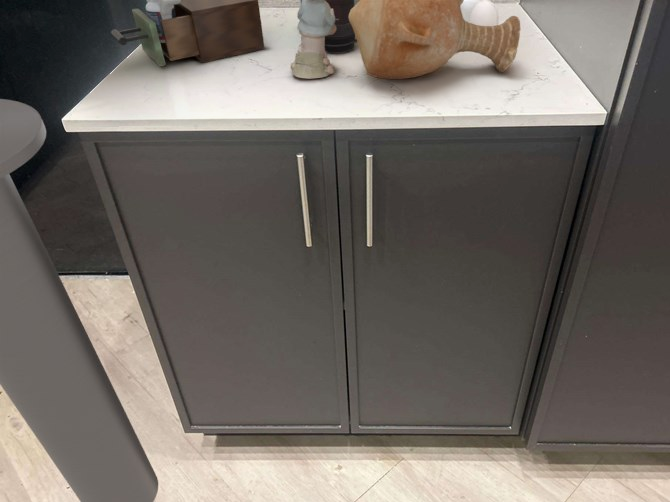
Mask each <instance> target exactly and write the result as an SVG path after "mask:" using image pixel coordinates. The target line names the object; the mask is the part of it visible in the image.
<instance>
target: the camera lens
mask: <svg viewBox="0 0 670 502" xmlns="http://www.w3.org/2000/svg"><path fill="white" fill-rule="evenodd" d="M325 1H326V2H327V3H328V4H329V6H330V8H332V9H333V10H334V16H335V23H334V24H335V26H336V31H335V33H334V34H332V35H327V36H325V44H324V47H325V51H326V53H328V54H329V53H330V54H342V53H348V52H350V51H352V50H353V49H354V42H355V41H354V40H355V33H354V30H353V27H352V25H351V23H350V21H349V18H348V16H349V13H350V10H351V9H352V8H353V7H354V0H325ZM353 41H354V42H353Z"/></svg>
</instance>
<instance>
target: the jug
mask: <svg viewBox="0 0 670 502" xmlns="http://www.w3.org/2000/svg"><path fill="white" fill-rule="evenodd" d="M463 1H464V0H360V1H359V2H358V3H357V4H356V5H355V6H354V7H353V8H352V9H351V10H350V13H349V16H348V18H349V21H350V23H351V25H352V27H353V30H354V33H355V35H356V38H357V41H356V42H357V45H358V48H359V52H360V56H361V61H362V63H363V67H364V69H365V71H366V72H367V74H368V75H370V76H372V77H375V78H378V79H386V80H405V79H410V78H416V77H417V78H418V77H421V76H424V75H427V74H431V73H432V72H434V71H437V70H438V69H440V68H441V67H443V66H444V65H445V64H447V63H448V62H449V61H450V59H452V57H454V56H455V55H457V54H459V53H464V52H465V53H467V52H471V53H475V54H478V55H481V56H484V57H485V58H488V59H489V60H491V62H492V63H493V64H494V67H495V68H496V70H497V71H498V72H500V73H502V72H505V71H506V70H507V69H508V68H509V67H510V66H511V65H512V63H513V61H515V59H516V57H517V54H518V53H517V52H518V48H519V42H520V38H521V37H520V36H521V30H522V29H521V20H520V19H519V18H520V17H518V16H517V15H510V16H509V17H508V18H507V19H505V21H504V22H503V23H501V24H498V25H496V26H479V25H475V24H472V23H468V22H467V21H465V20H464V18H463V16H462V12H461V8H460V6H461V4H462V3H463Z"/></svg>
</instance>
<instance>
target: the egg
mask: <svg viewBox="0 0 670 502" xmlns="http://www.w3.org/2000/svg"><path fill="white" fill-rule="evenodd" d="M499 19H500V18H499V12H498V8H497V6H496V5H495V4H494V3H493V1H491V0H483V1H481V2H479V3H478V4H476V6H475V7H474V8H473V10H472V12H471V14H470V18H469V23H472V24H475V25H479V26H496V25H499V21H500V20H499Z"/></svg>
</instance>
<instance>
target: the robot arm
mask: <svg viewBox="0 0 670 502" xmlns="http://www.w3.org/2000/svg"><path fill="white" fill-rule="evenodd" d="M156 1H157V2H158V6H159V8H160V13H161V14H160V17H161V20H165V19H171V18H172V15H171V14H172V5H174V4H179V3H180V2H181V0H156ZM148 2H149V0H146V3H148Z"/></svg>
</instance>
